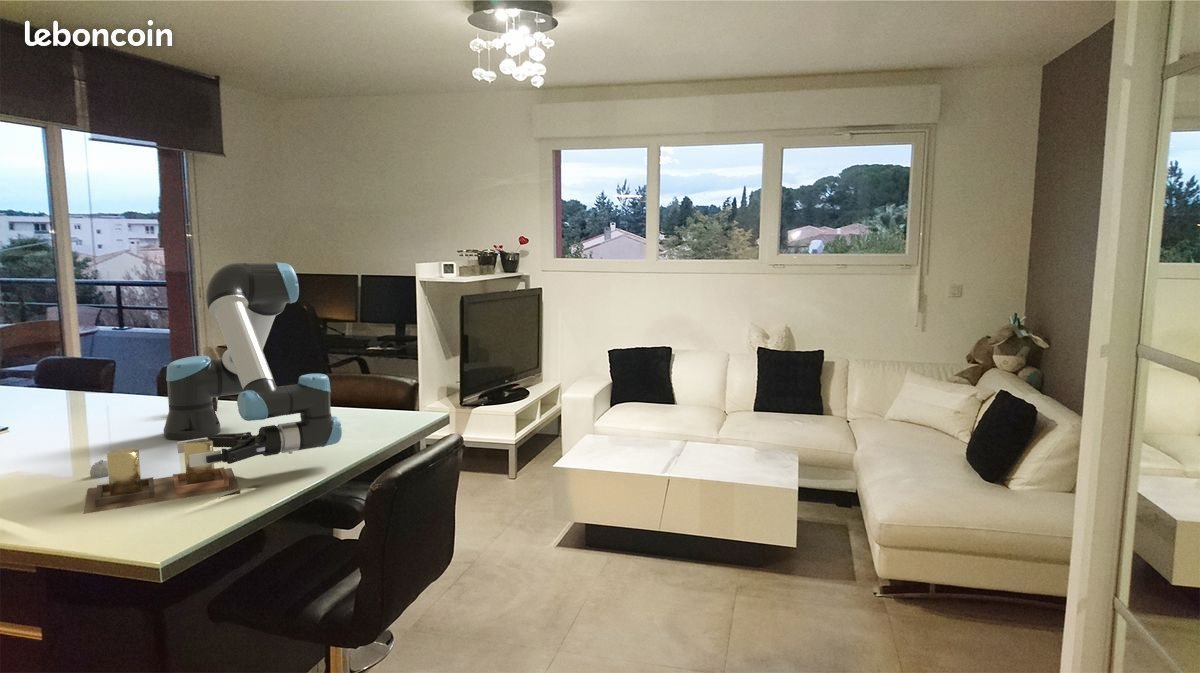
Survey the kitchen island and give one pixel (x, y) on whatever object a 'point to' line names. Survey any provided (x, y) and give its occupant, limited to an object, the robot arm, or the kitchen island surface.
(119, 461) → the cylinder
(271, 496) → the kitchen island surface
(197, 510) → the kitchen island surface
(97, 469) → the garlic
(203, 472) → the brass billet
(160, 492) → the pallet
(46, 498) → the kitchen island surface
